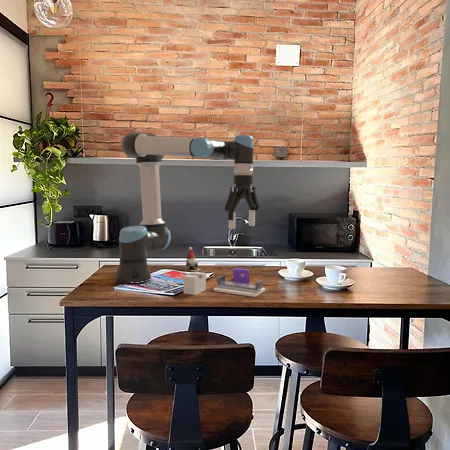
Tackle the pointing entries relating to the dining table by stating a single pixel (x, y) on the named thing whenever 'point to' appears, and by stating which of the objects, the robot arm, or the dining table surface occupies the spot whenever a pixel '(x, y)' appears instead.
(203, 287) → the block
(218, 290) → the mount plate
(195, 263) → the figurine
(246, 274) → the bracket
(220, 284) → the rail
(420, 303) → the dining table surface
